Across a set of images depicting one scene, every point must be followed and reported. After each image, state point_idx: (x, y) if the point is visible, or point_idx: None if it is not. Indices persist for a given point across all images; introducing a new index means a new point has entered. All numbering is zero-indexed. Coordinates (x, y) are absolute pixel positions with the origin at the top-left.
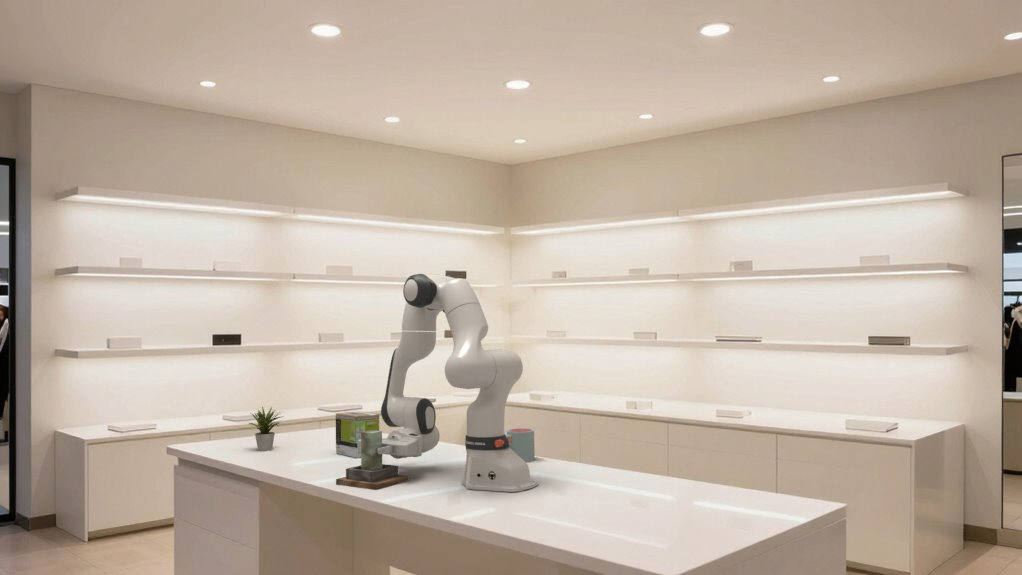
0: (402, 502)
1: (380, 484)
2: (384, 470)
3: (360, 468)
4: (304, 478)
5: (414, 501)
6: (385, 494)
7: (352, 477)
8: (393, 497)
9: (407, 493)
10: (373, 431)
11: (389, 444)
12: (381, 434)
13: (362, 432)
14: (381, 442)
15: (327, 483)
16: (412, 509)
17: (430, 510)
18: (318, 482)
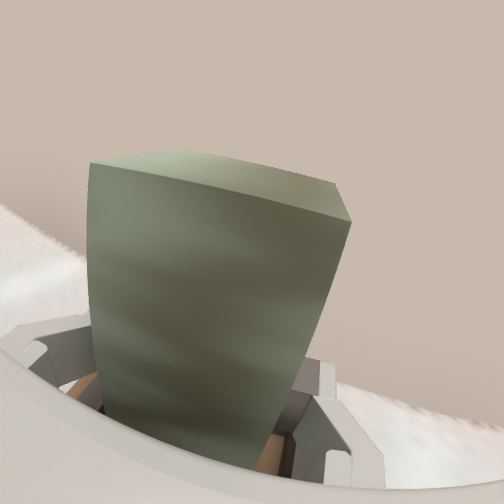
0: (38, 254)
1: None
2: (86, 392)
3: (288, 471)
4: (497, 452)
5: (13, 256)
6: (75, 307)
7: None
8: (53, 283)
9: (12, 309)
10: (221, 171)
11: (8, 357)
12: (95, 210)
13: (312, 179)
14: (97, 312)
15: (378, 431)
16: (29, 227)
17: (5, 223)
18: (418, 432)
